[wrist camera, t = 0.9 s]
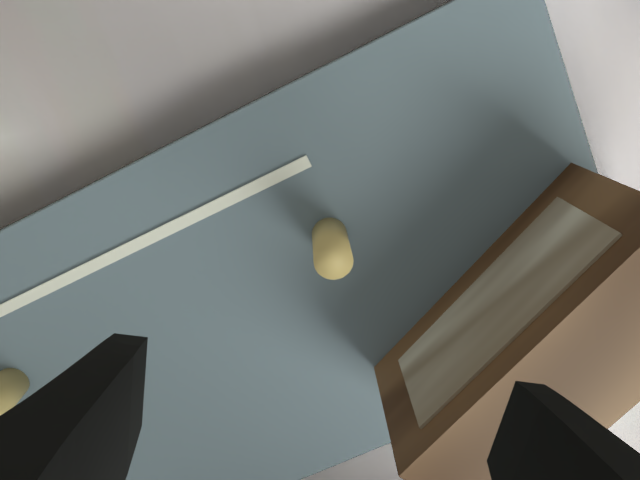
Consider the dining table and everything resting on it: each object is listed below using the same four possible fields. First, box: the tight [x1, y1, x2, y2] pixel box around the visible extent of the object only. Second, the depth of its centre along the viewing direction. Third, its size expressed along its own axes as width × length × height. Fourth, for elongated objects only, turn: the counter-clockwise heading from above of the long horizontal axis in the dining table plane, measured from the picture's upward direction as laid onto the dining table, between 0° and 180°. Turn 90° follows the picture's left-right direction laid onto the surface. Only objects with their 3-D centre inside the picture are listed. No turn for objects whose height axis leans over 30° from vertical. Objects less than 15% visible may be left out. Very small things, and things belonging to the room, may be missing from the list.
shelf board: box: [0, 0, 598, 480], centre depth 19 cm, size 14×23×4 cm, turn 116°
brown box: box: [374, 163, 640, 480], centre depth 17 cm, size 4×10×6 cm, turn 141°
